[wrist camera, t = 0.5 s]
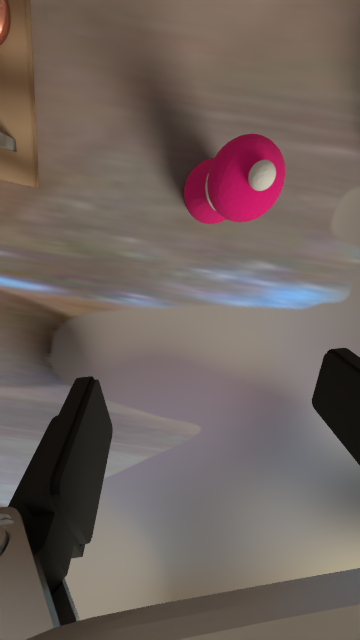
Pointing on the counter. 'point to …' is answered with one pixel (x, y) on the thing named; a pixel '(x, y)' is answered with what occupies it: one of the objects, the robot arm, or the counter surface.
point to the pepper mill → (236, 181)
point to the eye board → (18, 100)
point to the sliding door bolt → (4, 20)
